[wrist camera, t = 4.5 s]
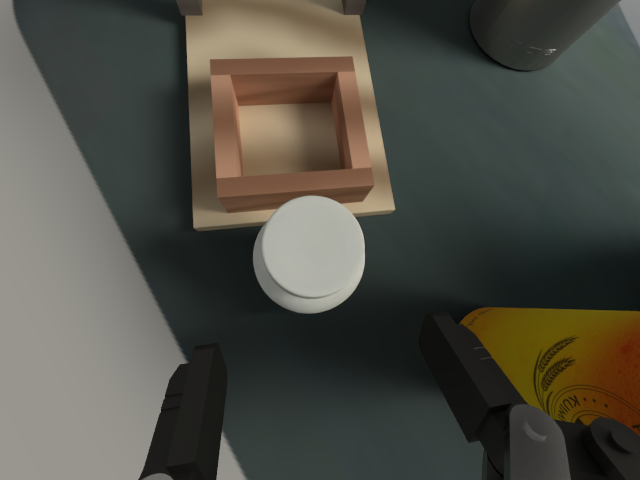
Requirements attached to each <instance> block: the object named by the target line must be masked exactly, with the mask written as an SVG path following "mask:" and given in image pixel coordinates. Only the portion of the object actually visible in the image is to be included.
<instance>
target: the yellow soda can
mask: <svg viewBox="0 0 640 480" xmlns="http://www.w3.org/2000/svg"><path fill="white" fill-rule="evenodd" d="M460 324H463V325H464V326H466V327H467V328H468V329H470V330H471V331H472V332H473V333H475V334H476V336H477V337H478V338H479V340H480V341H481V342H482V344H483V345H484V348H486V349H487V351H488V352H489V353H490V355H491V356H492V359H494V360H495V361H496V363H497V364H498V365H499V367H500V368H501V369H502V371H503V372H504V373H505V375H506V376H507V377H508V379H509V380H510V381H511V383H512V384H513V385H514V387H515V388H516V389H517V391H518V392H519V393H520V395H521V396H522V397H523V399H524V400H525V401H526V402H527V403H528V404H529V405H531V406H534V407H536V408H539V409H540V410H542V411H544V412H545V413H546V414H548V415H549V416H550V417H551V418H552V419H556V420H561V421H567V422H572V423H578V424H584V425H589V424H590V423H591V422H592V421H593V420H594V419H596V418H599V417H604V418H610V419H613V420H616V421H618V422H620V423H622V424H624V425H626V426H627V427H629V428H630V429H632V430H633V431H634V432H636V433H637V434H638V435H639V436H640V311H613V310H576V309H539V308H503V307H485V308H480V309H477V310H474V311H472V312H471V313H469V314H468V315H467V316H465V317H464V318H463V320H462V321H461V322H460Z"/></svg>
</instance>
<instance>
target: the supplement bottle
mask: <svg viewBox="0 0 640 480" xmlns="http://www.w3.org/2000/svg"><path fill="white" fill-rule="evenodd" d="M364 249H365V244H364V237H363V233H362V230H361V228H360V225H359V223H358V221H357V220H356V218H355V217H354V216H353V214H352V213H351V212H350V211H349V210H348V209H347V208H346V207H344V206H343V205H341V204H340V203H338V202H336V201H334V200H332V199H329V198H326V197H322V196H303V197H298V198H295V199H292V200H290V201H288V202H286V203H285V204H283V205H282V206H280V207H279V208H278V209H277V210H276V211H275V212H274V213H273V214H272V215H271V217H270V218H269V220H268V221H267V222H266V223H265V224H264V226H263V227H262V228H261V230H260V232H259V234H258V236H257V239H256V241H255V245H254V251H253V265H254V270H255V274H256V277H257V280H258V282H259V284H260V286H261V288H262V289H263V291H264V292H265V293H266V294H267V295H268V296H269V297H270V298H271V299H272V300H273V301H274V302H276V303H277V304H278V305H280V306H282V307H284V308H286V309H288V310H291V311H294V312H297V313H309V314H311V313H319V312H324V311H327V310H330V309H332V308H334V307H336V306H338V305H339V304H341V303H342V302H344V301H345V300H346V299H347V298H348V297H349V296H350V295H351V294H352V293H353V291H354V290H355V289H356V287H357V285H358V284H359V282H360V279H361V277H362V274H363V270H364V265H365V251H364Z"/></svg>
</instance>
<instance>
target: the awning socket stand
mask: <svg viewBox="0 0 640 480" xmlns="http://www.w3.org/2000/svg"><path fill="white" fill-rule="evenodd" d="M366 1H367V0H176V2H177V5H178V8H179V10H180V13H181V15H182V16H186V41H187V68H188V94H189V121H190V148H191V175H192V201H193V228H194V229H196V230H197V231H209V230H220V229H231V228H242V227H252V226H263V225H264V224H265V223H266V222H267V221H268V220H269V218H270V217H271V215H272V214H273V213H274V212H275V211H276V210H277V209H278V208H279V207H280V206H282V205H283V204H285V203H286V202H288V201H290V200H292V199H295V198H298V197H303V196H322V197H326V198H329V199H332V200H334V201H336V202H338V203H340V204H341V205H343V206H344V207H346V208H347V209H348V210H349V211H350V212H351V213H352V214H353V216H354V217H361V216H371V215H382V214H391V213H392V212H393V211H394V210H395V206H394V201H393V195H392V190H391V184H390V179H389V173H388V168H387V163H386V157H385V152H384V146H383V141H382V135H381V130H380V124H379V119H378V113H377V108H376V103H375V97H374V92H373V86H372V81H371V75H370V70H369V64H368V59H367V53H366V48H365V43H364V37H363V32H362V26H361V21H360V15H363V13H364V9H365V5H366Z"/></svg>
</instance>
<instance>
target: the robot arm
mask: <svg viewBox="0 0 640 480" xmlns="http://www.w3.org/2000/svg"><path fill="white" fill-rule="evenodd" d="M619 1H621V0H475V2H474V4H473V6H472V8H471V10H470V17H469V20H470V28H471V30H472V33H473V36H474V38H475V39H476V41H477V43H478V44H479V46H480V47H481V48H482V49H483V50H484V51H485V52H486V53H487V54H488V55H489V56H490V57H492V58H493V59H494V60H496V61H498V62H499V63H501V64H503V65H505V66H508V67H511V68H513V69H519V70H537V69H542V68H544V67H546V66H548V65H550V64H551V63H552V62H553V61H554V60H555V59H557V58H558V57H559V56H560V55H561V54H562V53H563V52H564V51H565V50H566V49H568V48H569V47H570V46H571V45H572V44H573V43H574V42H575V41H576V40H578V39H579V38H580V37H581V36H582V35H583V34H584V33H585V32H586V31H587V30H589V29H590V28H591V27H592V26H593V25H594V24H595V23H597V22H598V21H599V20H600V19H601V18H602V17H603V16H604V15H605V14H606V13H608V12H609V11H610V10H611V9H612V8H613V7H614V6H615V5H616V4H617V3H619ZM419 345H420V349H421V352H422V354H423V356H424V358H425V360H426V362H427V364H428V366H429V368H430V370H431V372H432V374H433V376H434V378H435V379H436V381H437V383H438V385H439V387H440V389H441V391H442V393H443V395H444V397H445V399H446V401H447V402H448V404H449V406H450V408H451V410H452V412H453V414H454V416H455V418H456V420H457V422H458V424H459V425H460V427H461V429H462V431H463V433H464V435H465V437H466V439H467V441H468V443H470V442H475V441H480V442H481V444H482V445H483V447H484V451H483V463H482V480H640V436H639V435H638V434H637V433H636V432H634V431H633V430H632V429H630V428H629V427H627V426H626V425H624V424H622V423H620V422H618V421H616V420H613V419H610V418H604V417H599V418H596V419H594V420H593V421H592V422H591V423H590V424H589V425H584V424H578V423H572V422H567V421H561V420H556V419H552V418H551V417H550V416H549V415H548V414H546V413H545V412H544V411H542V410H540V409H539V408H536V407H534V406H531V405H529V404H528V403H527V402H526V401H525V400H524V399H523V397H522V396H521V395H520V393H519V392H518V391H517V389H516V388H515V387H514V385H513V384H512V383H511V381H510V380H509V379H508V377H507V376H506V375H505V373H504V372H503V371H502V369H501V368H500V367H499V365H498V364H497V363H496V361H495V360H494V359H492V356H491V355H490V353H489V352H488V351H487V349H486V348H484V345H483V344H482V342H481V341H480V340H479V338H478V337H477V336H476V334H475V333H473V332H472V331H471V330H470V329H468V328H467V327H466V326H464V325H463V324H456V323H455V321H454V320H453V319H452V317H451V316H450V315H449V314H448V313H447V312H439V313H432V314H427V315H426V316H425V319H424V323H423V326H422V330H421V334H420V338H419ZM226 389H227V369H226V365H225V362H224V359H223V356H222V353H221V350H220V347H219V345H218V343H215V344H208V345H201V346H196V347H195V348H194V351H193V354H192V359H191V363H187V364H180V365H179V367H178V368H177V370H176V371H175V372H174V374H173V375H172V377H171V379H170V380H169V384H168V387H167V390H166V394H165V399H164V401H163V404H162V407H161V413H160V415H159V418H158V421H157V425H156V428H155V432H154V435H153V438H152V442H151V445H150V449H149V453H148V455H147V459H146V462H145V466H144V469H143V471H142V474H141V476H140V478H139V479H138V480H216V476H217V468H218V459H219V450H220V441H221V433H222V424H223V415H224V406H225V398H226Z"/></svg>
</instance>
